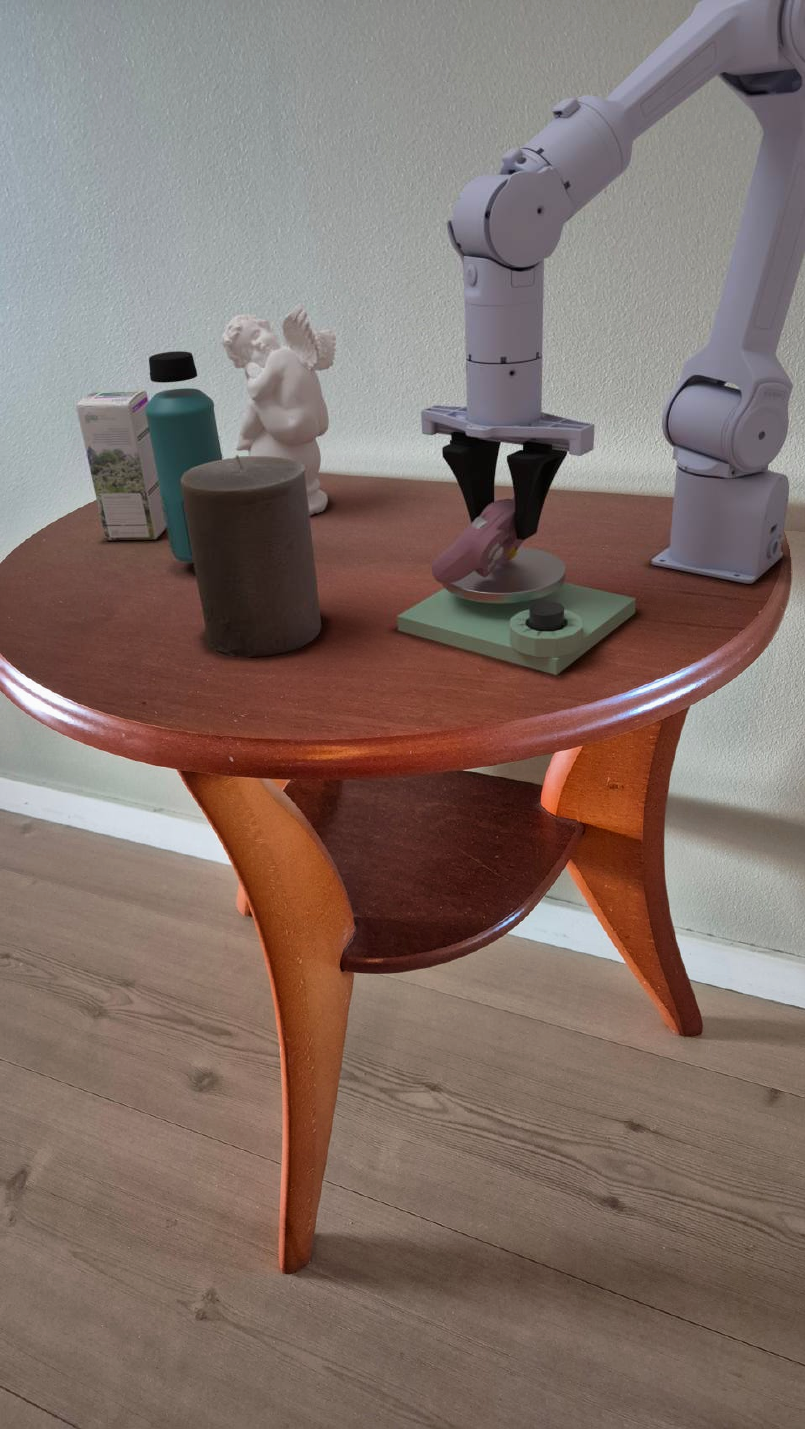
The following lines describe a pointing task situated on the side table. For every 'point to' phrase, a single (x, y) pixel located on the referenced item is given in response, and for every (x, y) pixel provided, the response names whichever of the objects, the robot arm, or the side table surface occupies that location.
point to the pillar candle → (253, 554)
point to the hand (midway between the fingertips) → (504, 531)
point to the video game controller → (480, 544)
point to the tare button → (546, 616)
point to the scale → (520, 625)
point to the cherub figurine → (283, 391)
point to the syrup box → (122, 464)
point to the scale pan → (514, 579)
